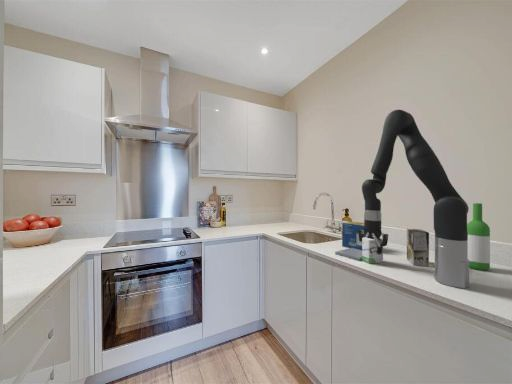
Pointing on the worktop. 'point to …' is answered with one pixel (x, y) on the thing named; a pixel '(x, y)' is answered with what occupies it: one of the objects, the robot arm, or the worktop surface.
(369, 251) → the ink box
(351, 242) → the protein box
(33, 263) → the worktop surface
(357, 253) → the plate
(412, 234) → the coffee box
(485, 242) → the wine bottle
